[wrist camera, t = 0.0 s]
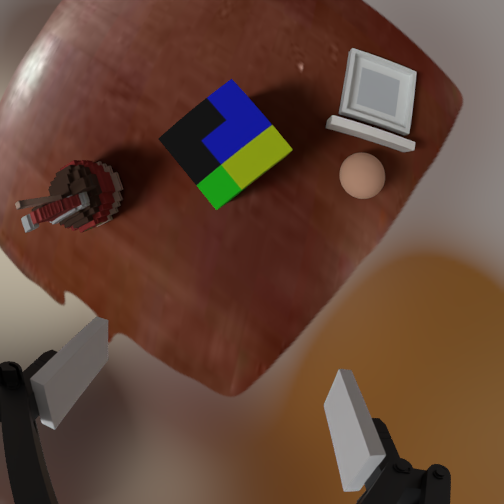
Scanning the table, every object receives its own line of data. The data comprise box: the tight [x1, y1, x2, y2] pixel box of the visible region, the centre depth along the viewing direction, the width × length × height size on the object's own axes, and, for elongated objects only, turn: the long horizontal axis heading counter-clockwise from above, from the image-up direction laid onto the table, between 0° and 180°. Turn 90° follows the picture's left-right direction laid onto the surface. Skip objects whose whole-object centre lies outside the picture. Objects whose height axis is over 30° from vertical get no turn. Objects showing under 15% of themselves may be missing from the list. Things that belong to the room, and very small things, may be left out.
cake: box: [15, 160, 123, 232], centre depth 33 cm, size 11×9×18 cm
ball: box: [340, 153, 385, 199], centre depth 37 cm, size 6×6×6 cm
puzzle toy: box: [159, 79, 293, 210], centre depth 35 cm, size 10×10×10 cm
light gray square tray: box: [339, 48, 417, 135], centre depth 37 cm, size 10×10×2 cm
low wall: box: [326, 115, 416, 152], centre depth 37 cm, size 1×12×4 cm, turn 78°
